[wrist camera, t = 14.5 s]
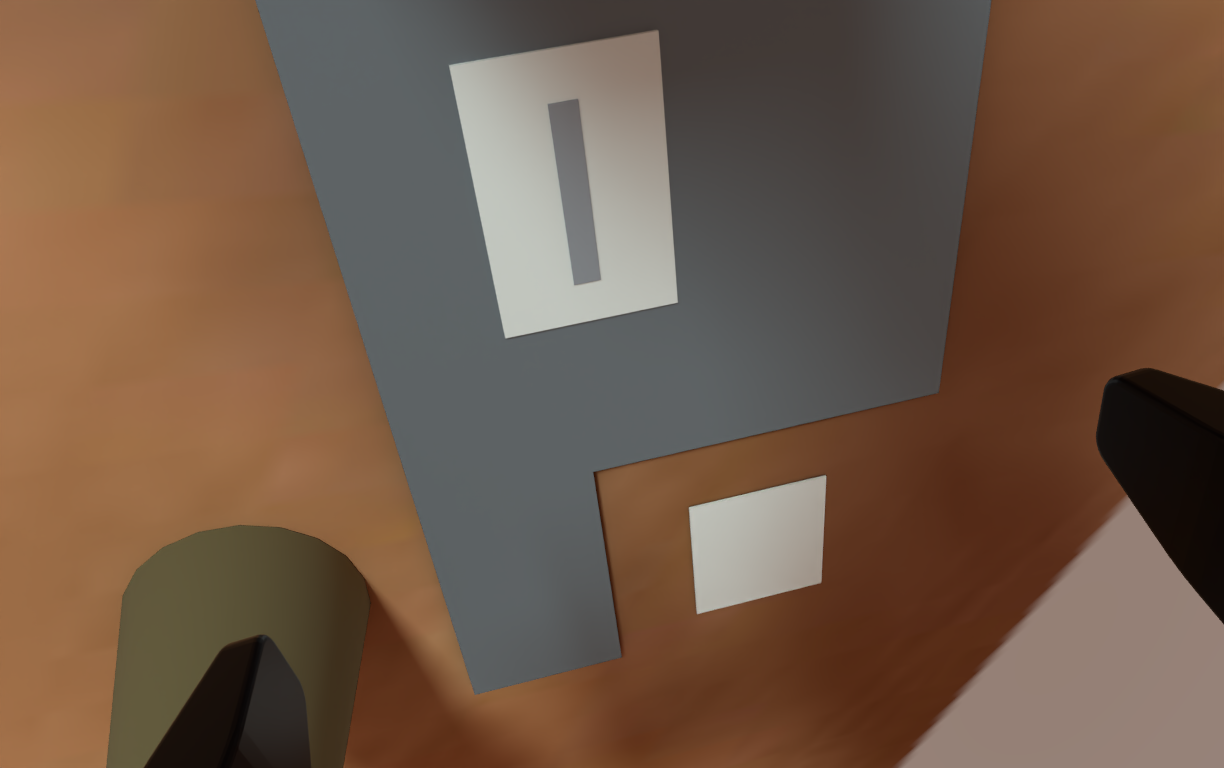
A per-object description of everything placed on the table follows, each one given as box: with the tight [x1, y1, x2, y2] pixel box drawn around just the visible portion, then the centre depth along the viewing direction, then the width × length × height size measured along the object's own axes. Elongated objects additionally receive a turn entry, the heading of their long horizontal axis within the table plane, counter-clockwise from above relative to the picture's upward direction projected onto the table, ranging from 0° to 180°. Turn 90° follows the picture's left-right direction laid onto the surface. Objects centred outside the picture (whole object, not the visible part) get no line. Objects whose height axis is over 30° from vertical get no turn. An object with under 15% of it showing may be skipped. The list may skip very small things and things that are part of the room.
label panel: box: [255, 0, 991, 695], centre depth 22 cm, size 20×14×1 cm
